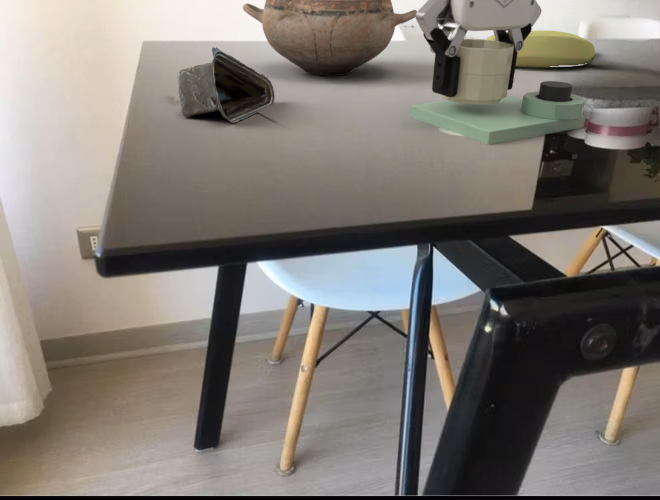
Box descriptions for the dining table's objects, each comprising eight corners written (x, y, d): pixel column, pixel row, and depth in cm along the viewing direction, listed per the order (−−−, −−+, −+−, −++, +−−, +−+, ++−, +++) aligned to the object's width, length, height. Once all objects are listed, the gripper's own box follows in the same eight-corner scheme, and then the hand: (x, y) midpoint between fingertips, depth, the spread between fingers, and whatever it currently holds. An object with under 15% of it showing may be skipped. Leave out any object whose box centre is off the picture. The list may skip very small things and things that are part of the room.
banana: (592, 23, 91) (456, 30, 100) (588, 62, 92) (454, 67, 101) (596, 38, 104) (475, 44, 112) (593, 73, 105) (473, 76, 113)
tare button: (551, 96, 69) (554, 80, 68) (575, 102, 66) (579, 85, 65) (531, 99, 67) (534, 82, 66) (555, 105, 65) (558, 88, 64)
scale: (504, 104, 76) (507, 78, 75) (591, 128, 67) (597, 100, 66) (409, 117, 69) (412, 90, 68) (492, 147, 60) (496, 116, 59)
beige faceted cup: (472, 88, 72) (478, 37, 70) (520, 101, 67) (528, 46, 64) (423, 94, 69) (428, 40, 66) (469, 108, 63) (476, 50, 61)
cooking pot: (415, 64, 99) (422, -20, 94) (410, 89, 83) (417, -12, 77) (261, 56, 103) (259, -25, 97) (226, 79, 86) (221, -19, 81)
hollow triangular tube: (228, 98, 77) (164, 33, 67) (277, 87, 74) (219, 17, 64) (215, 166, 73) (146, 108, 64) (267, 157, 70) (203, 95, 61)
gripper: (453, -105, 52) (432, 107, 60) (588, -95, 61) (555, 90, 69) (398, -102, 58) (385, 91, 66) (529, -93, 67) (504, 78, 74)
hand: (472, 89), depth 67 cm, fingers closed on beige faceted cup, 7 cm apart
